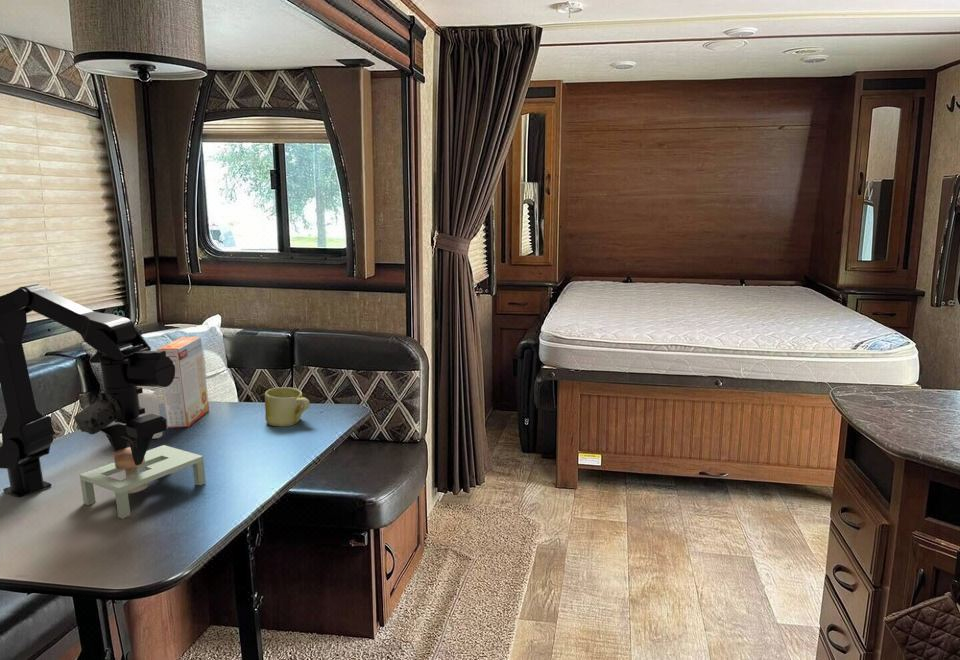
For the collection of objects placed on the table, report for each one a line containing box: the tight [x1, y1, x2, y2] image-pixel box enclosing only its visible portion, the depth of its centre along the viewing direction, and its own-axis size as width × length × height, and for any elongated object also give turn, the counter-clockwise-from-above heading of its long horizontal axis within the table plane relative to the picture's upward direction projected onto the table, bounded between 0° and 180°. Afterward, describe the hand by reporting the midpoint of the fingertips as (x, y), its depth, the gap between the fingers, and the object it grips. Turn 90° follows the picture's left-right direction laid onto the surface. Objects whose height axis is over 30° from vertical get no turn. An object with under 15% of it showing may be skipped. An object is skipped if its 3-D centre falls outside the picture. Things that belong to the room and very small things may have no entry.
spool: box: [113, 446, 149, 494], centre depth 139 cm, size 5×5×8 cm
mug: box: [264, 386, 311, 427], centre depth 183 cm, size 12×10×10 cm
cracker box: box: [156, 336, 210, 429], centre depth 186 cm, size 14×6×21 cm, turn 178°
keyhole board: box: [79, 444, 207, 519], centre depth 142 cm, size 13×18×6 cm
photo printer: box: [138, 388, 163, 440], centre depth 173 cm, size 10×4×12 cm, turn 96°
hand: (130, 462), depth 139 cm, fingers closed on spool, 5 cm apart
